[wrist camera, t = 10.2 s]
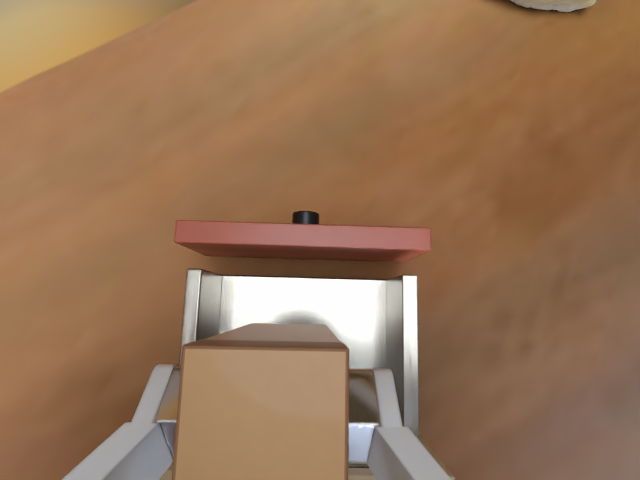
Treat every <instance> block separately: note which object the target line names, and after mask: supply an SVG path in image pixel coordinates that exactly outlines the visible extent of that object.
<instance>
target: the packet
mask: <svg viewBox="0 0 640 480" xmlns="http://www.w3.org/2000/svg"><path fill="white" fill-rule="evenodd" d="M348 455H349V348H348V347H347V346H346V345H345V344H344V343H343V342H341V341H340V340H339V339H338V338H337V337H336V336H335V334H334V333H333V332H332V331H331V330H330V329H329V328H328V326H327V325H325V324H277V323H251V324H248V325H245V326H242V327H239V328H236V329H233V330H230V331H227V332H224V333H221V334H218V335H215V336H212V337H210V338H207V339H204V340H197V341H194V342H191V343H188V344H185V345H183V347H182V356H181V369H180V381H179V394H178V407H177V419H176V432H175V445H174V458H173V470H172V480H348Z"/></svg>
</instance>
